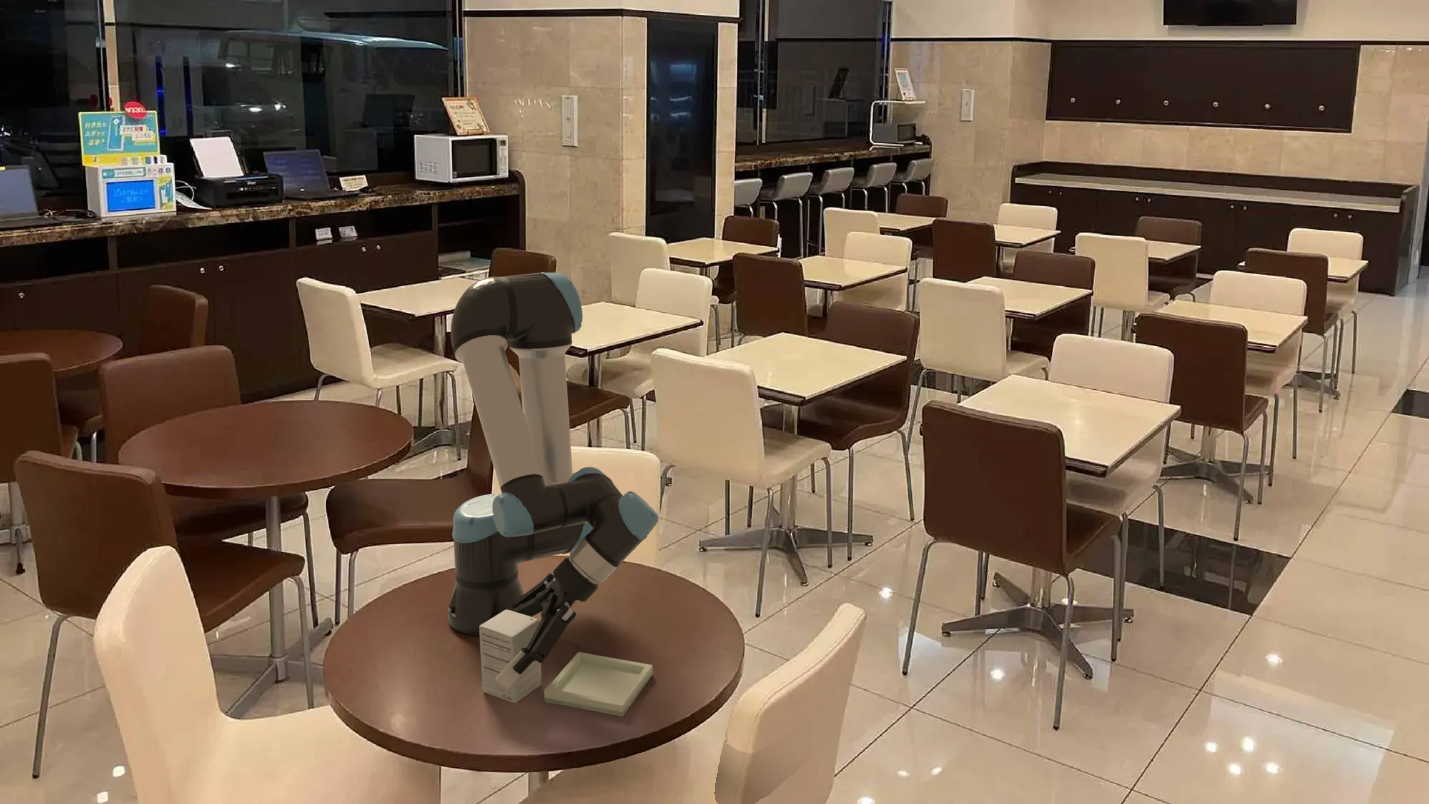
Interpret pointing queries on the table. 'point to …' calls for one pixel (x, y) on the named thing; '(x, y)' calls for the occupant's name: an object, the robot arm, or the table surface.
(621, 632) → the table surface
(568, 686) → the tray
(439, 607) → the table surface
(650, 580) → the table surface
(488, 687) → the supplement box
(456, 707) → the table surface
